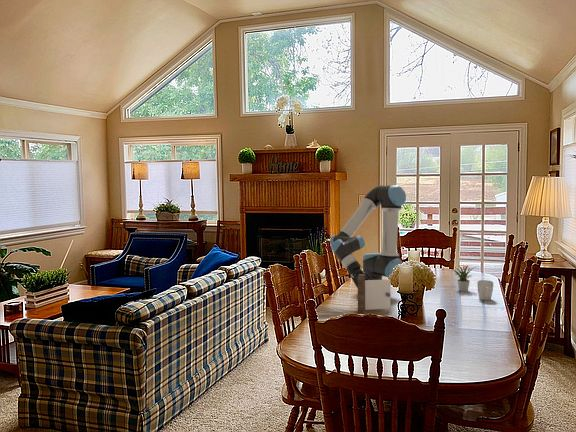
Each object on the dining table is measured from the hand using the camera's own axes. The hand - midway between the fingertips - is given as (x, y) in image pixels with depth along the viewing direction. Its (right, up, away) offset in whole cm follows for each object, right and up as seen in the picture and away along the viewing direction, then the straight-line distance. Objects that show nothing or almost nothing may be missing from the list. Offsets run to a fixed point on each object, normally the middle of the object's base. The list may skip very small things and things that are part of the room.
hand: (376, 298), depth 272 cm
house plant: (+62, -2, +43) cm, 76 cm away
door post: (-9, -7, -8) cm, 14 cm away
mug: (+65, -4, +19) cm, 68 cm away
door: (0, -5, -6) cm, 7 cm away
